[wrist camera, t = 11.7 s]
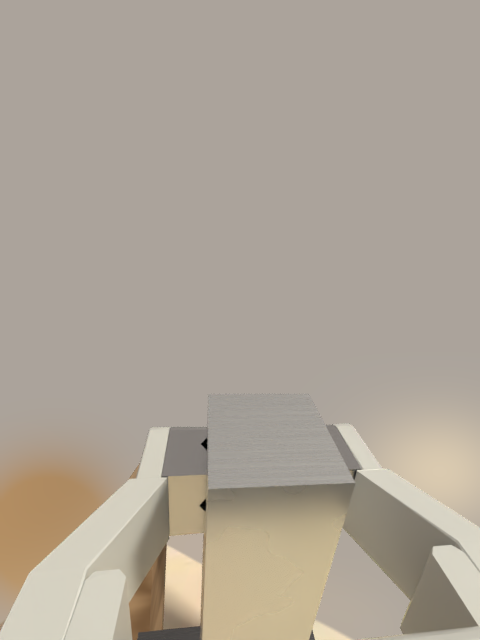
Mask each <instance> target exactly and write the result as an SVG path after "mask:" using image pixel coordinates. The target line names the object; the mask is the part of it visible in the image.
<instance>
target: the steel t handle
mask: <svg viewBox="0 0 480 640" xmlns="http://www.w3.org/2000/svg"><path fill="white" fill-rule="evenodd" d="M354 487H355V481H354V479H353V477H352V475H351V473H350V471H349V469H348V467H347V466H346V464H345V462H344V460H343V458H342V456H341V454H340V452H339V450H338V448H337V446H336V445H335V443H334V441H333V439H332V437H331V435H330V433H329V431H328V429H327V427H326V425H325V424H324V422H323V420H322V418H321V416H320V414H319V412H318V410H317V408H316V406H315V404H314V403H313V401H312V399H311V397H310V395H309V394H209V395H208V420H207V486H206V514H205V533H204V536H203V564H202V593H201V621H200V626H199V627H189V628H178V629H168V630H158V631H147V632H138V637H137V640H315V639H314V635H313V631H312V628H313V625H314V621H315V618H316V615H317V611H318V608H319V604H320V601H321V598H322V594H323V591H324V588H325V584H326V581H327V577H328V574H329V571H330V567H331V564H332V561H333V557H334V554H335V551H336V547H337V544H338V540H339V537H340V534H341V530H342V527H343V524H344V520H345V517H346V513H347V510H348V507H349V503H350V500H351V497H352V493H353V490H354Z"/></svg>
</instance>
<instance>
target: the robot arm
mask: <svg viewBox="0 0 480 640" xmlns="http://www.w3.org/2000/svg"><path fill="white" fill-rule="evenodd" d="M326 427H327V429H328V431H329V433H330V435H331V437H332V439H333V441H334V443H335V445H336V446H337V448H338V450H339V452H340V454H341V456H342V458H343V460H344V462H345V464H346V466H347V467H348V469H349V471H350V473H351V475H352V477H353V479H354V481H355V487H354V490H353V493H352V497H351V500H350V503H349V507H348V510H347V513H346V517H345V520H344V524H343V527H342V528H343V529H344V530H345V531H346V532H347V533H348V534H349V535H350V536H351V537H352V538H353V539H354V540H355V542H356V543H357V544H358V545H359V546H360V547H361V548H362V549H363V550H364V551H365V552H366V553H367V554H368V555H369V556H370V558H371V559H372V560H373V561H374V562H375V563H376V564H377V565H378V566H379V567H380V568H381V569H382V570H383V571H384V573H385V574H386V575H387V576H388V577H389V578H390V579H391V580H392V581H393V582H394V583H395V584H396V585H397V586H398V587H399V589H400V590H401V591H402V592H403V593H404V594H405V595H406V596H407V597H408V598H409V599H410V600H411V601H410V603H409V605H408V608H407V610H406V613H405V615H404V618H403V620H402V623H401V627H400V629H401V631H402V633H403V634H402V635H393V636H385V637H375V638H366V639H357V640H480V527H478V526H476V525H475V524H473V523H472V522H470V521H469V520H467V519H466V518H464V517H462V516H461V515H459V514H458V513H456V512H455V511H453V510H452V509H450V508H448V507H447V506H445V505H444V504H442V503H441V502H439V501H438V500H436V499H434V498H433V497H431V496H430V495H428V494H427V493H425V492H423V491H422V490H420V489H419V488H417V487H416V486H414V485H413V484H411V483H410V482H408V481H406V480H405V479H403V478H402V477H400V476H399V475H397V474H395V473H394V472H392V471H391V470H389V469H383V468H382V467H381V466H380V464H379V463H378V461H377V460H376V458H375V457H374V456H373V454H372V453H371V451H370V450H369V448H368V447H367V445H366V444H365V442H364V441H363V440H362V438H361V437H360V435H359V434H358V432H357V431H356V430H355V428H354V427H353V426H352V425H351V424H332V425H326ZM206 486H207V427H171V428H170V427H151V429H150V430H149V432H148V436H147V440H146V443H145V447H144V450H143V454H142V457H141V461H140V465H139V468H138V472H137V476H136V479H129V480H128V481H127V482H125V483H124V484H123V485H122V486H121V487H120V488H119V489H118V490H117V491H116V492H115V493H114V494H113V495H112V496H111V497H110V498H108V499H107V500H106V501H105V502H104V503H103V504H102V505H101V506H100V507H99V508H98V509H97V510H96V511H95V512H94V513H93V514H91V516H89V517H88V518H87V519H86V520H85V521H84V522H83V523H82V524H81V525H80V526H79V527H78V528H77V529H76V530H74V531H73V532H72V533H71V534H70V535H69V536H68V537H67V538H66V539H65V540H64V541H63V542H62V543H61V544H60V545H59V546H58V547H57V548H55V550H53V551H52V552H51V553H50V554H49V555H48V556H47V557H46V558H45V559H44V560H43V561H42V562H41V563H40V564H38V565H37V566H36V567H35V568H34V569H33V570H32V571H31V572H30V573H29V575H28V577H27V579H26V581H25V583H24V585H23V587H22V589H21V591H20V593H19V595H18V597H17V599H16V601H15V603H14V605H13V607H12V609H11V611H10V613H9V615H8V617H7V619H6V621H5V623H4V625H3V627H2V629H1V631H0V640H132V630H131V620H130V610H129V602H130V600H131V599H132V597H133V596H134V594H135V593H136V591H137V589H138V588H139V586H140V585H141V583H142V581H143V580H144V578H145V577H146V575H147V573H148V572H149V570H150V569H151V567H152V565H153V564H154V562H155V561H156V559H157V557H158V556H159V554H160V553H161V551H162V549H163V548H164V546H165V545H166V543H167V541H168V540H169V536H175V535H186V534H196V533H205V514H206Z"/></svg>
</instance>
